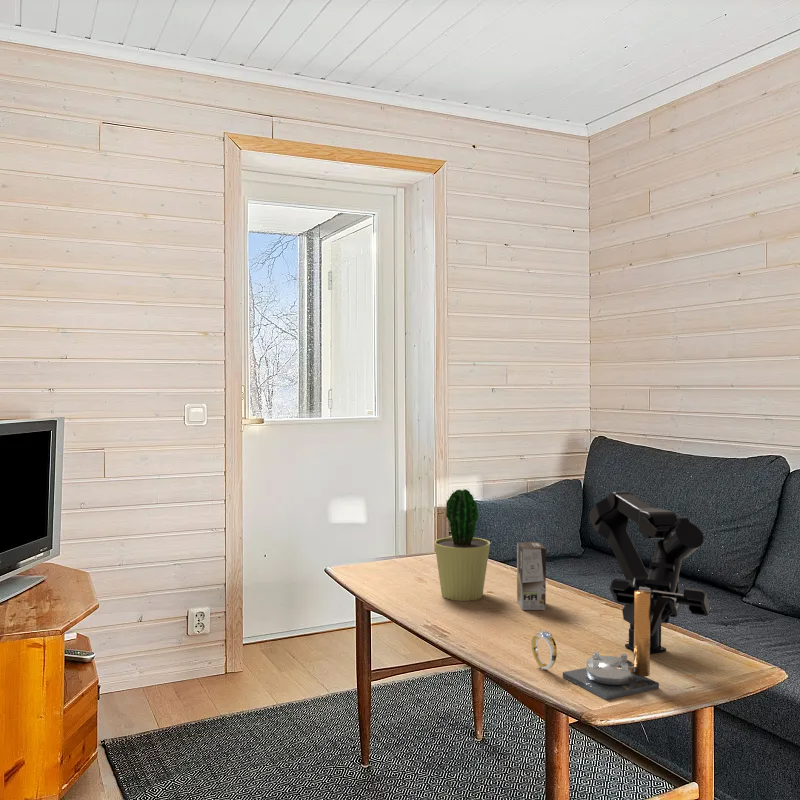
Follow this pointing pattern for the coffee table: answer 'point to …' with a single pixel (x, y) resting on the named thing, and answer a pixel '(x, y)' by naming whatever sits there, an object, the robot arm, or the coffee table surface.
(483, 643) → the coffee table surface
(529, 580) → the coffee box
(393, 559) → the coffee table surface
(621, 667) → the brown rod on base
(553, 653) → the ring
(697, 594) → the robot arm
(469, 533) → the potted cactus
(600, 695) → the plate
